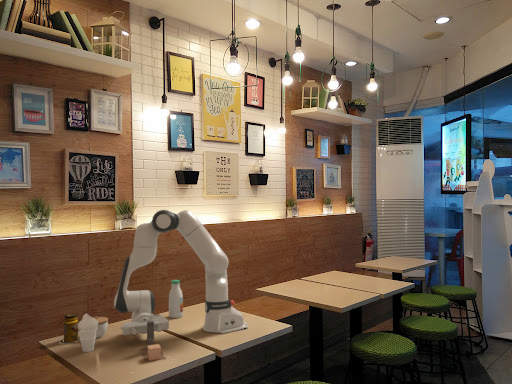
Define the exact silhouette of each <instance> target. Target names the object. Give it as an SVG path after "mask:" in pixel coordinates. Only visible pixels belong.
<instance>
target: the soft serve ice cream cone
mask: <svg viewBox="0 0 512 384" xmlns="http://www.w3.org/2000/svg"><path fill="white" fill-rule="evenodd" d="M97 326H98V321H97V319H95V317H93V316H90V315H89V314H88V313H84V315H83V316H82V319H81V320H80V321H78V333H79V340H80V341H79V342H80V344H81V345H80V346H81V349H82V353H91V352H93V351H94V348H95V343H96V339H97V338H96V330H97Z"/></svg>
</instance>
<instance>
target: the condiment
mask: <svg viewBox="0 0 512 384" xmlns="http://www.w3.org/2000/svg"><path fill="white" fill-rule="evenodd" d="M78 324H79V320H78V314H77V313H67V314H65V315H64V321H63V339H57V342H58V343H59V345H60V346H62V345H65V344H71V342H73V343H76V342H75V341H78V342H77V343H79V342H81V341H80V339H79V329H78ZM78 339H79V340H78ZM63 340H64V342H63ZM60 342H61V343H60ZM73 343H72V344H73Z"/></svg>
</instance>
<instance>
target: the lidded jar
mask: <svg viewBox="0 0 512 384" xmlns="http://www.w3.org/2000/svg"><path fill="white" fill-rule="evenodd" d="M94 318H95V319H97V321H98V326H97V330H96V339H99V337H100V338H102V337H103V336H104V335H105V334H106V333H107V330H108V325H109V318H108V317H105V316H96V315H95V316H94Z"/></svg>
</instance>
